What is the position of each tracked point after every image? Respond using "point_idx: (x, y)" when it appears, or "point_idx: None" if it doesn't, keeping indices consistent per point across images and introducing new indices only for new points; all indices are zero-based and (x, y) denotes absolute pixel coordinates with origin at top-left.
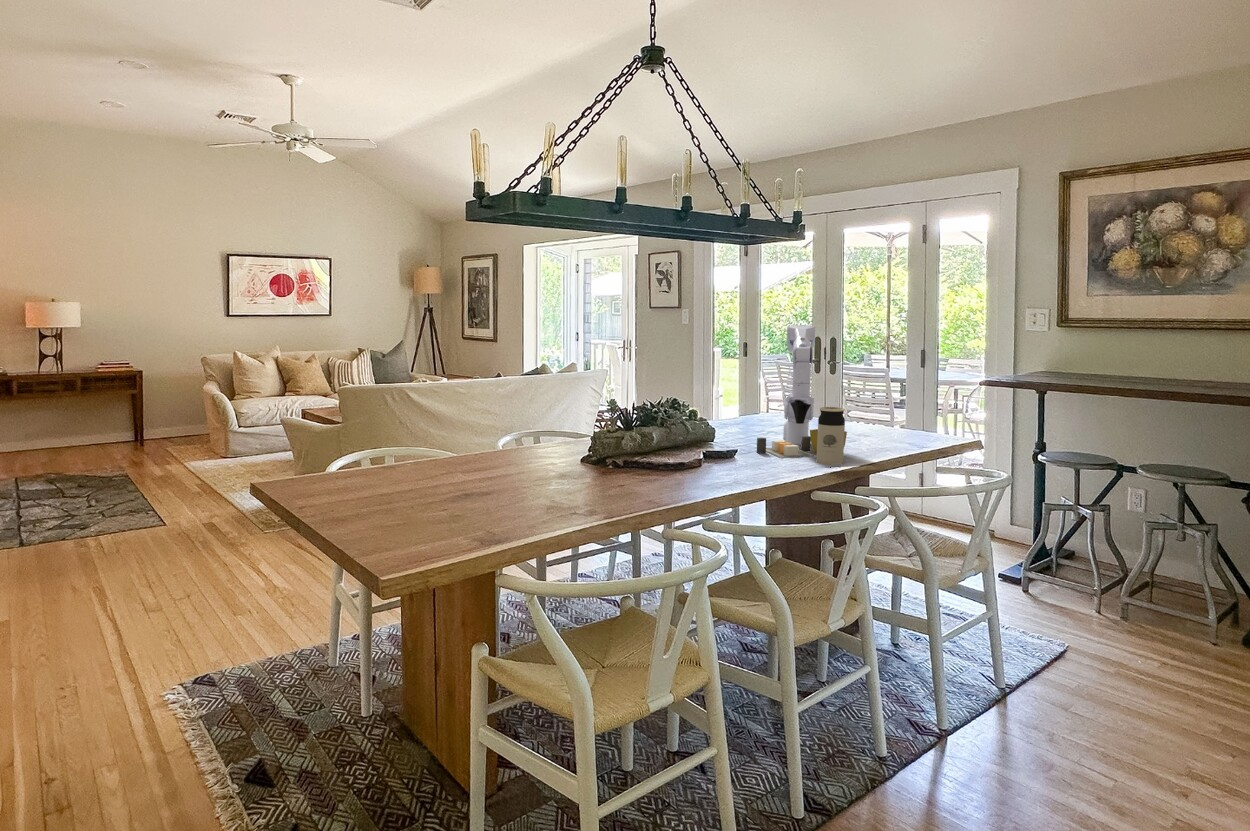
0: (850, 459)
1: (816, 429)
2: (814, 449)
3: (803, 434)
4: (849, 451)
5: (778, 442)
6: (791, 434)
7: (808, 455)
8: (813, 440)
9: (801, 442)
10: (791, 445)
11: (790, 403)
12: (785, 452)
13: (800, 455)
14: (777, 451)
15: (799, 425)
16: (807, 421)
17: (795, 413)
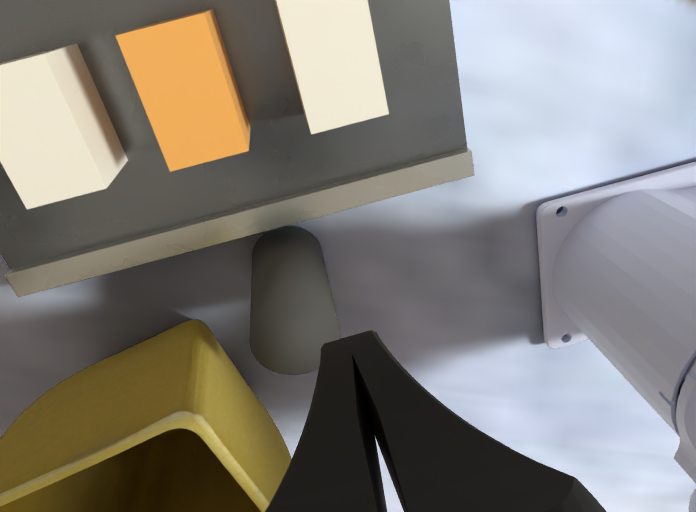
0: None
1: (231, 472)
2: (172, 332)
3: (601, 339)
4: (399, 504)
5: (286, 36)
6: (649, 247)
7: (55, 258)
8: (152, 372)
9: (291, 271)
10: (49, 140)
11: (559, 497)
12: (27, 56)
13: None
14: (229, 10)
15: (661, 357)
16: (683, 448)
17: (380, 415)
